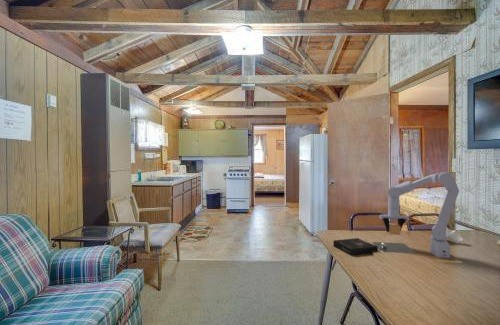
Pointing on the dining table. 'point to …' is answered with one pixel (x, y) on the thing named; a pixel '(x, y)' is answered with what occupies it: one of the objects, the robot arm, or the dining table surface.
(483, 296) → the dining table surface
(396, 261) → the dining table surface
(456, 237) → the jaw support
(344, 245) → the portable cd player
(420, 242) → the dining table surface
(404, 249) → the base plate
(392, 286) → the dining table surface
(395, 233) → the tan wooden block
